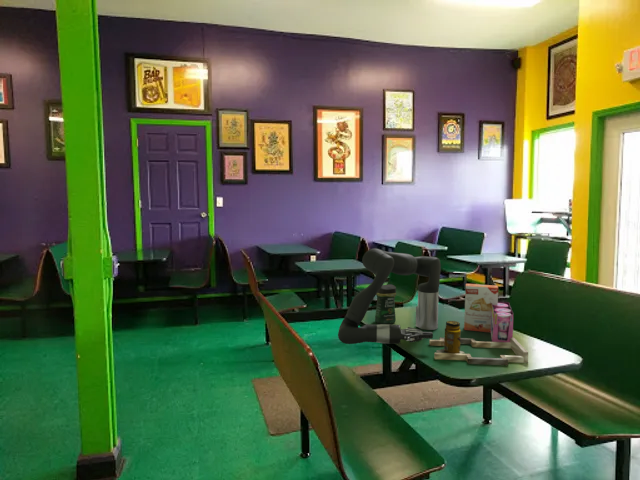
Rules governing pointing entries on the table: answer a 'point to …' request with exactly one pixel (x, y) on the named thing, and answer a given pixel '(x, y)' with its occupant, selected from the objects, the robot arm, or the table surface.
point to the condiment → (452, 338)
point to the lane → (503, 360)
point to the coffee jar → (386, 305)
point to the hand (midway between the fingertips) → (432, 335)
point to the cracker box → (479, 306)
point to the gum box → (501, 322)
